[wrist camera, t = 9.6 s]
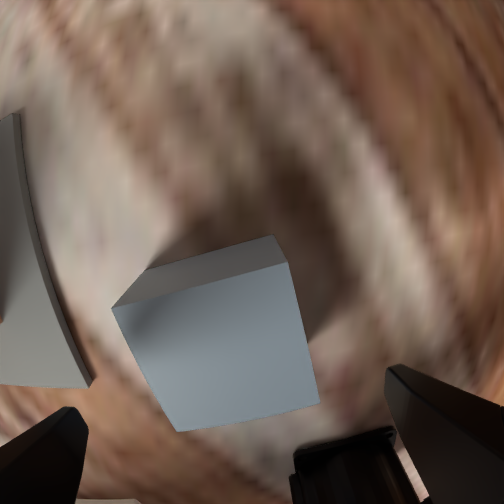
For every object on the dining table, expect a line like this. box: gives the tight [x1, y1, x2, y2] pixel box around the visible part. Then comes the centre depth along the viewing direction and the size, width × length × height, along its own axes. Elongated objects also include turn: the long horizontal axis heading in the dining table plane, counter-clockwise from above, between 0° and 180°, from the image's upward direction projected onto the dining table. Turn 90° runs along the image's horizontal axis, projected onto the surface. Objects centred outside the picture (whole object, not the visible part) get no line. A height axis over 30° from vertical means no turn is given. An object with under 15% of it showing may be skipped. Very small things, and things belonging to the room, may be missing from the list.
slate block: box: [111, 234, 320, 432], centre depth 11 cm, size 6×6×4 cm
